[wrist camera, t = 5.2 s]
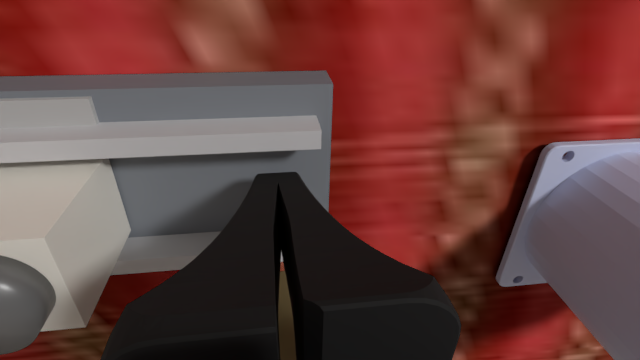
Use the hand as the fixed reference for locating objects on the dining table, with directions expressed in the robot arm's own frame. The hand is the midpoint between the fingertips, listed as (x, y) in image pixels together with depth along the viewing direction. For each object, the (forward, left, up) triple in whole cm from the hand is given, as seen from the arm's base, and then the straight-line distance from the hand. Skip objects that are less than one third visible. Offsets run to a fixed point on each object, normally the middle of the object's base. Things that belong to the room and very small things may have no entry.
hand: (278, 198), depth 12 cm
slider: (+7, 0, -1) cm, 7 cm away
